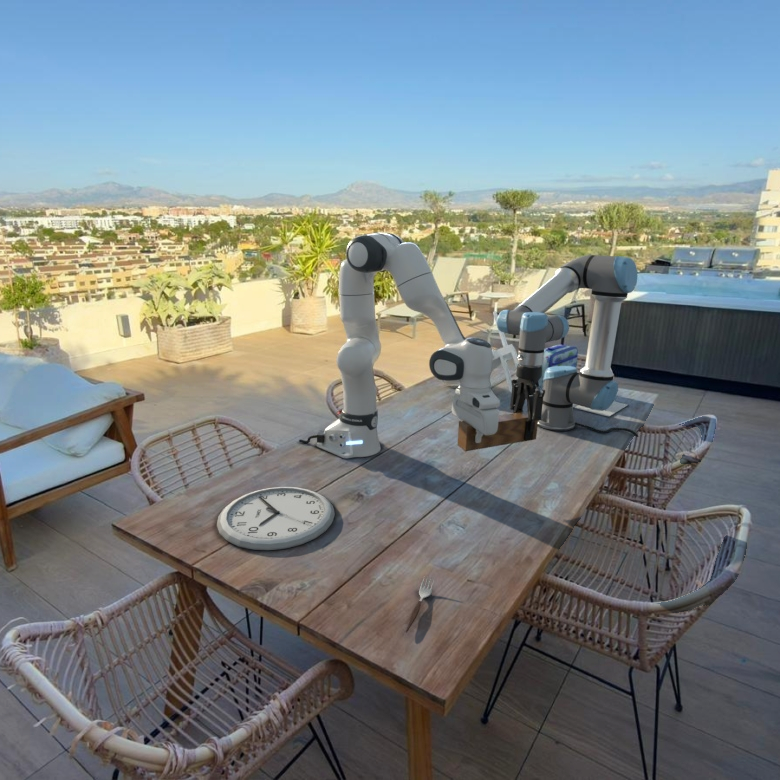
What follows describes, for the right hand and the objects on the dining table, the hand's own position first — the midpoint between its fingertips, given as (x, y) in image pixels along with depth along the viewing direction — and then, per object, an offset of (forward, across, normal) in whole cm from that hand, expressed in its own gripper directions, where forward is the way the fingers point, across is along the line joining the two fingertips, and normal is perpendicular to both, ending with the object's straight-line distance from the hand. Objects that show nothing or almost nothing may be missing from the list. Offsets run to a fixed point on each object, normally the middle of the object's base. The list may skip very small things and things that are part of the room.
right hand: (522, 436), depth 164 cm
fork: (+11, +46, -58) cm, 75 cm away
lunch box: (+11, -65, +68) cm, 95 cm away
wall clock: (+11, +1, -78) cm, 78 cm away
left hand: (-2, 0, -19) cm, 19 cm away
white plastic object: (+11, -73, +32) cm, 80 cm away
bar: (+1, 0, -9) cm, 9 cm away
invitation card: (+11, -37, +70) cm, 80 cm away
